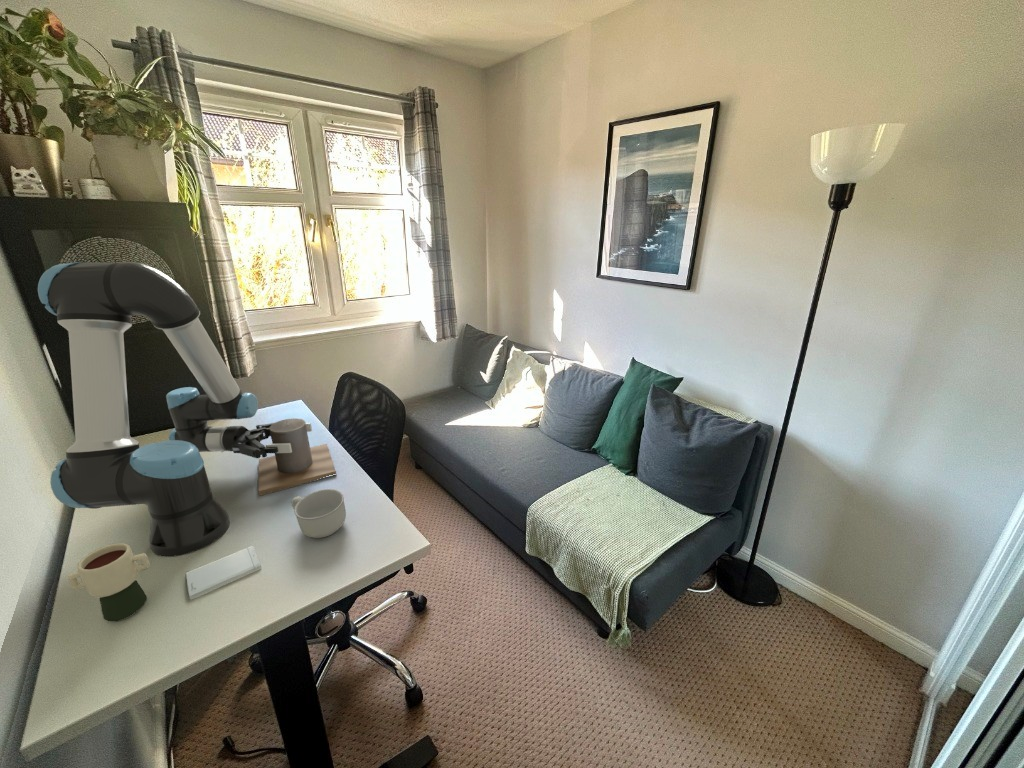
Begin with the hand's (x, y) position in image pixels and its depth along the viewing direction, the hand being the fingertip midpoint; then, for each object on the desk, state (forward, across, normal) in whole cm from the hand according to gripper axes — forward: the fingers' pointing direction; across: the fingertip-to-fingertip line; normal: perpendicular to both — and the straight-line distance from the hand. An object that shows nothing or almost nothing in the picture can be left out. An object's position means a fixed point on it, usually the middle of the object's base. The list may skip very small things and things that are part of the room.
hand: (301, 437), depth 123 cm
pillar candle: (-3, 0, -10) cm, 10 cm away
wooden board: (-3, 0, -11) cm, 11 cm away
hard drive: (0, +41, -12) cm, 43 cm away
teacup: (+15, +28, -11) cm, 33 cm away
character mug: (-13, +50, -11) cm, 53 cm away
